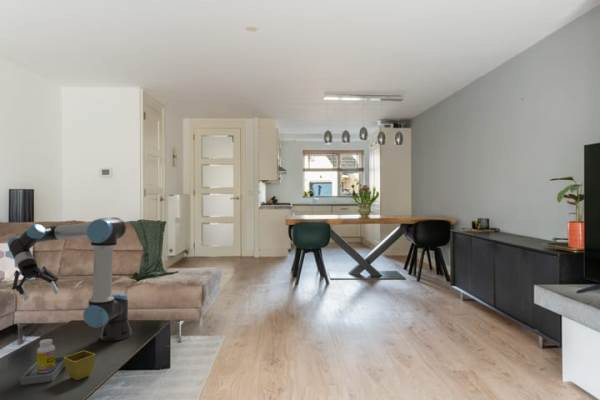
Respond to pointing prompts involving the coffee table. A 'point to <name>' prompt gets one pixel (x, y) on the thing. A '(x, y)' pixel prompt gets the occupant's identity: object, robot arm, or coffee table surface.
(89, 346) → the coffee table surface
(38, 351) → the supplement bottle
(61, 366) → the tray
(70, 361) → the flower pot
